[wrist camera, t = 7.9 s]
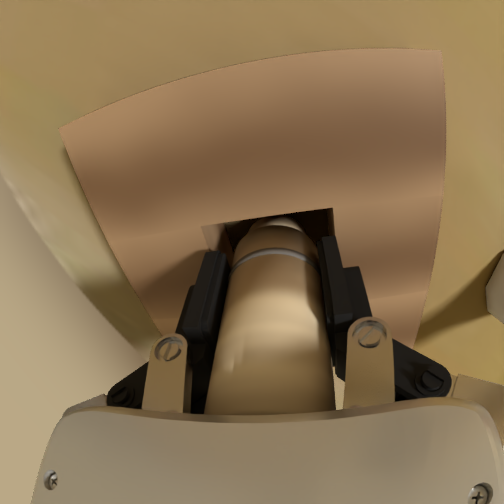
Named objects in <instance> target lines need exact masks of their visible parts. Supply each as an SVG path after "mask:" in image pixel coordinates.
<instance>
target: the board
mask: <svg viewBox="0 0 504 504" xmlns="http://www.w3.org/2000/svg"><path fill="white" fill-rule="evenodd" d="M58 129H59V132H60V135H61V137H62V140H63V143H64V145H65V148H66V150H67V153H68V155H69V158H70V160H71V163H72V165H73V168H74V170H75V173H76V175H77V177H78V180H79V182H80V184H81V187H82V189H83V191H84V193H85V196H86V198H87V200H88V202H89V204H90V206H91V209H92V211H93V213H94V215H95V217H96V219H97V221H98V223H99V225H100V227H101V229H102V231H103V233H104V235H105V237H106V239H107V241H108V243H109V245H110V247H111V249H112V251H113V253H114V255H115V257H116V259H117V260H118V262H119V264H120V266H121V268H122V270H123V271H124V273H125V275H126V277H127V279H128V280H129V282H130V284H131V286H132V287H133V289H134V291H135V293H136V294H137V296H138V298H139V299H140V301H141V303H142V304H143V306H144V308H145V309H146V311H147V313H148V314H149V316H150V318H151V319H152V321H153V322H154V324H155V326H156V327H157V329H158V330H159V332H160V333H161V335H162V337H163V336H164V335H167V334H174V333H175V331H176V328H177V325H178V321H179V318H180V315H181V312H182V309H183V305H184V302H185V299H186V296H187V293H188V290H189V288H190V286H191V285H195V283H196V280H197V277H198V273H199V270H200V267H201V264H202V261H203V258H204V255H205V253H206V252H210V251H217V250H219V251H220V252H221V254H222V253H225V254H226V257H227V260H228V263H229V266H230V269H231V268H232V263H233V258H234V254H233V251H232V247H231V244H230V241H229V238H228V234H227V231H226V228H225V225H224V223H225V222H232V221H238V220H245V219H252V218H259V217H266V216H273V215H280V214H287V213H294V212H302V211H309V210H317V209H325V208H327V217H328V227H329V236H333V235H335V236H336V240H337V244H338V248H339V252H340V256H341V261H342V265H343V268H346V267H354V266H359V268H360V271H361V274H362V278H363V281H364V285H365V289H366V293H367V296H368V300H369V304H370V308H371V312H372V316H373V317H377V318H379V319H382V320H383V321H385V322H386V323H387V324H388V325H389V327H390V329H391V332H392V338H393V339H395V340H397V341H398V342H400V343H402V344H404V345H406V346H408V347H409V348H411V349H413V346H414V343H415V340H416V336H417V333H418V329H419V325H420V322H421V318H422V314H423V310H424V306H425V302H426V298H427V294H428V289H429V285H430V280H431V275H432V270H433V265H434V259H435V254H436V248H437V241H438V235H439V228H440V220H441V212H442V202H443V192H444V179H445V161H446V100H445V83H444V71H443V61H442V52H441V51H438V50H426V49H410V48H361V49H342V50H329V51H318V52H309V53H300V54H293V55H286V56H279V57H273V58H267V59H261V60H256V61H251V62H246V63H241V64H236V65H232V66H227V67H223V68H219V69H215V70H211V71H207V72H203V73H200V74H196V75H192V76H189V77H185V78H182V79H179V80H176V81H172V82H169V83H166V84H163V85H160V86H157V87H154V88H151V89H148V90H145V91H143V92H140V93H137V94H135V95H132V96H129V97H127V98H124V99H122V100H119V101H117V102H114V103H112V104H109V105H107V106H105V107H102V108H100V109H98V110H95V111H93V112H91V113H89V114H87V115H85V116H82V117H80V118H78V119H76V120H74V121H72V122H70V123H68V124H66V125H64V126H62V127H60V128H58ZM334 367H335V366H334Z"/></svg>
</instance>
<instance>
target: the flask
mask: <svg viewBox="0 0 504 504" xmlns="http://www.w3.org/2000/svg"><path fill="white" fill-rule="evenodd" d="M485 289H486V300H487V311H488V312H489V313H491V314H492V315H493V316H494V317H495V318H497V319H498V320H499V321H501V322H502V323H503V324H504V253H503V255H502V257H501V259H500V261H499V263H498V265H497V267H496V269H495V271H494V273H493V275H492V276H491V278H490V280H489V282H488V284H487V286H486V288H485Z"/></svg>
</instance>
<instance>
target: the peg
mask: <svg viewBox="0 0 504 504" xmlns="http://www.w3.org/2000/svg"><path fill="white" fill-rule="evenodd" d="M227 286H228V288H227V294H226V299H225V304H224V309H223V314H222V319H221V324H220V330H219V335H218V340H217V345H216V351H215V356H214V361H213V367H212V372H211V377H210V383H209V388H208V394H207V399H206V405H205V410H204V414H206V415H279V414H298V413H312V412H323V411H333V410H336V405H335V391H334V379H333V368H332V357H331V347H330V342H329V340H328V332H327V322H326V314H325V305H324V297H323V289H322V281H321V273H320V266H319V258H318V250H317V247H316V246H315V244H314V242H313V241H312V240H311V239H310V238H309V237H308V236H307V234H306V231H305V229H304V228H303V226H302V225H301V224H300V223H299V222H298V221H296V220H295V219H293V218H291V217H288V216H284V215H273V216H266V217H263V218H261V219H259V220H257V221H256V222H255V223H254V224H253V225H252V226H251V227H250V229H249V231H248V234H247V235H246V236H244V237H243V238H242V239H241V241H240V242H239V243H238V245H237V247H236V250H235V253H234V258H233V263H232V268H231V271H230V273H229V277H228V282H227Z"/></svg>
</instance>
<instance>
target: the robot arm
mask: <svg viewBox="0 0 504 504" xmlns="http://www.w3.org/2000/svg"><path fill="white" fill-rule="evenodd" d="M317 249H318V258H319V266H320V273H321V281H322V289H323V297H324V305H325V314H326V322H327V332H328V340H329V342H330V347H331V357H332V367H334V366H335V374H337V377H338V378H340V379H341V380H343V381H344V382H345V389H344V401H343V409H342V410H333V411H323V412H312V413H298V414H279V415H206V414H204V410H205V405H206V399H207V394H208V388H209V383H210V377H211V372H212V367H213V361H214V356H215V351H216V345H217V340H218V335H219V330H220V324H221V319H222V314H223V309H224V304H225V299H226V294H227V288H228V286H227V282H228V277H229V273H230V271H231V269H230V266H229V263H228V260H227V257H226V254H225V253H222V254H221V252H220V251H219V250H217V251H210V252H206V253H205V255H204V258H203V261H202V264H201V267H200V270H199V273H198V277H197V280H196V283H195V285H191V286H190V288H189V290H188V293H187V296H186V299H185V302H184V305H183V309H182V312H181V315H180V318H179V321H178V325H177V328H176V331H175V333H174V334H167V335H164V336H163V337H161V338H159V339H158V340H157V341H156V342H155V343H154V345H153V346H152V349H151V352H150V358H149V361H148V362H147V363H145V364H144V365H143V366H141V367H140V368H138V369H137V370H135V371H134V372H133V373H131V374H130V375H128V376H127V377H126V378H124V379H123V380H121V381H120V382H118V383H117V384H115V385H114V386H113V387H112V388H111V389H110V391H109V392H108V395H105V394H101V395H99V396H97V397H94V398H92V399H89V400H87V401H85V402H82V403H80V404H77V405H74V406H72V407H70V408H68V409H67V410H66V411H65V412H64V414H63V416H62V418H61V419H60V420H59V422H58V423H57V425H56V427H55V429H54V431H53V433H52V435H51V437H50V440H49V442H48V445H47V447H46V450H45V453H44V456H43V459H42V462H41V466H40V469H39V472H38V476H37V480H36V484H35V488H34V492H33V496H32V501H31V504H504V451H503V445H504V386H503V385H500V384H496V383H492V382H488V381H484V380H480V379H476V378H472V377H469V376H465V375H461V374H458V376H454V375H450V373H449V372H448V370H447V369H446V368H445V367H443V366H442V365H441V364H439V363H437V362H435V361H433V360H431V359H429V358H428V357H426V356H424V355H422V354H420V353H418V352H417V351H415V350H413V349H411V348H409V347H408V346H406V345H404V344H402V343H400V342H398V341H397V340H395V339H393V338H392V332H391V329H390V327H389V325H388V324H387V323H386V322H385V321H383V320H382V319H379V318H377V317H373V316H372V312H371V308H370V304H369V300H368V296H367V293H366V289H365V285H364V281H363V278H362V274H361V271H360V268H359V266H354V267H346V268H343V265H342V261H341V256H340V252H339V248H338V244H337V240H336V236H335V235H333V236H325V237H322V241H317Z"/></svg>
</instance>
